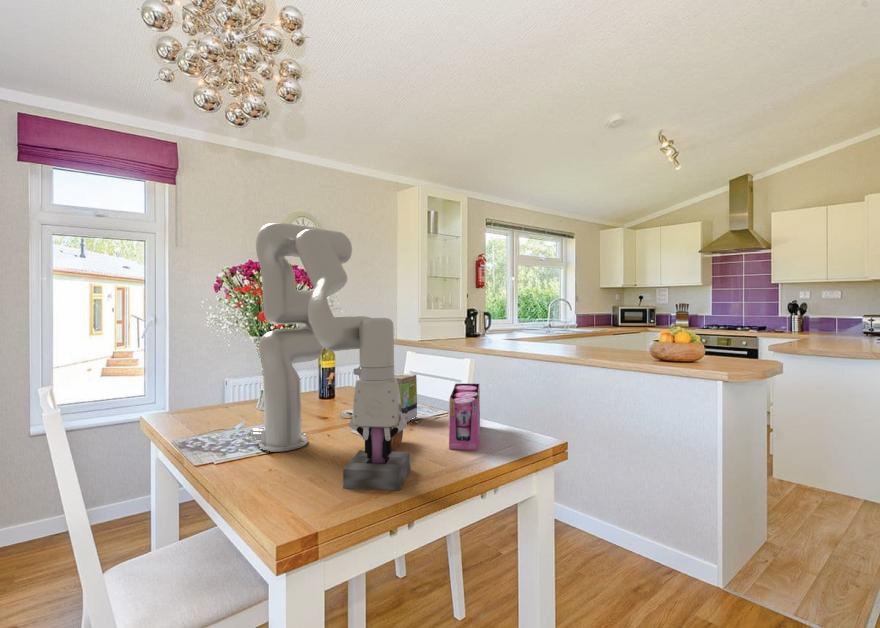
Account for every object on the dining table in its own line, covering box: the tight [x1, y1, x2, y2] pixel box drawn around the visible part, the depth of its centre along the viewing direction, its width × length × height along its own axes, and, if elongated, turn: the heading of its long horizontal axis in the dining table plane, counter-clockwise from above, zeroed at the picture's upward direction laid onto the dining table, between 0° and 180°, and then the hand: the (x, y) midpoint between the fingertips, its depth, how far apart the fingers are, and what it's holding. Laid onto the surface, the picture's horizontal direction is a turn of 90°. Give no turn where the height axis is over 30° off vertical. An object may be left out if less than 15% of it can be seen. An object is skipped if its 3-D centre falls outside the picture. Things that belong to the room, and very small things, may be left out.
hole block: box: [342, 449, 411, 491], centre depth 101 cm, size 12×12×4 cm
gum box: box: [448, 383, 481, 451], centre depth 130 cm, size 24×8×14 cm, turn 174°
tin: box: [391, 423, 404, 452], centre depth 121 cm, size 15×3×8 cm, turn 168°
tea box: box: [394, 372, 418, 424], centre depth 152 cm, size 15×10×15 cm, turn 66°
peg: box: [371, 427, 385, 464], centre depth 101 cm, size 3×3×10 cm
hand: (378, 455), depth 101 cm, fingers closed on peg, 3 cm apart
